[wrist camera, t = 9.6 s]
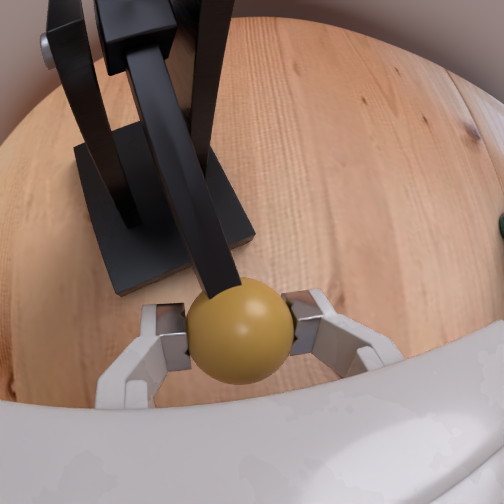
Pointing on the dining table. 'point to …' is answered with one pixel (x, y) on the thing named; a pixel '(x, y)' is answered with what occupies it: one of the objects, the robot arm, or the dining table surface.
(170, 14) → the lever
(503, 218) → the pitcher
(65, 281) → the dining table surface
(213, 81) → the stand
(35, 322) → the dining table surface
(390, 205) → the dining table surface
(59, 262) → the dining table surface
